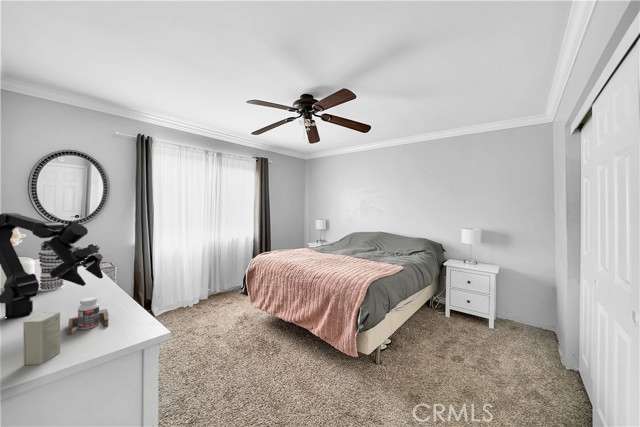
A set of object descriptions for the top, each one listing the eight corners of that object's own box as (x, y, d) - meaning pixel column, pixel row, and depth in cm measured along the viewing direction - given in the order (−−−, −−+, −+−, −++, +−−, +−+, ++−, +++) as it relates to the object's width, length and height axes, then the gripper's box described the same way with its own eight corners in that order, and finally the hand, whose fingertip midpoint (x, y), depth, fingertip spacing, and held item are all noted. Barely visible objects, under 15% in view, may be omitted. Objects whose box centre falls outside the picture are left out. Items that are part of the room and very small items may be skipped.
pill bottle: (86, 330, 89) (86, 302, 89) (73, 329, 91) (73, 301, 90) (103, 323, 95) (103, 297, 95) (90, 322, 96) (90, 295, 96)
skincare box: (45, 352, 76) (44, 312, 76) (61, 352, 76) (61, 311, 76) (22, 365, 69) (22, 321, 69) (40, 365, 70) (39, 321, 70)
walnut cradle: (67, 335, 86) (67, 327, 86) (68, 325, 93) (68, 318, 93) (108, 325, 93) (108, 319, 93) (106, 317, 100) (106, 311, 100)
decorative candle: (51, 291, 129) (51, 242, 128) (33, 291, 129) (32, 241, 129) (69, 286, 138) (69, 239, 138) (52, 285, 138) (52, 239, 138)
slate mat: (81, 321, 96) (81, 320, 96) (81, 314, 102) (81, 313, 102) (108, 315, 102) (108, 314, 102) (107, 309, 108) (107, 308, 108)
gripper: (63, 241, 90) (93, 275, 92) (100, 234, 109) (125, 263, 111) (35, 260, 89) (66, 295, 91) (77, 250, 108) (103, 279, 110)
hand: (93, 281), depth 101 cm, fingers open, 9 cm apart
